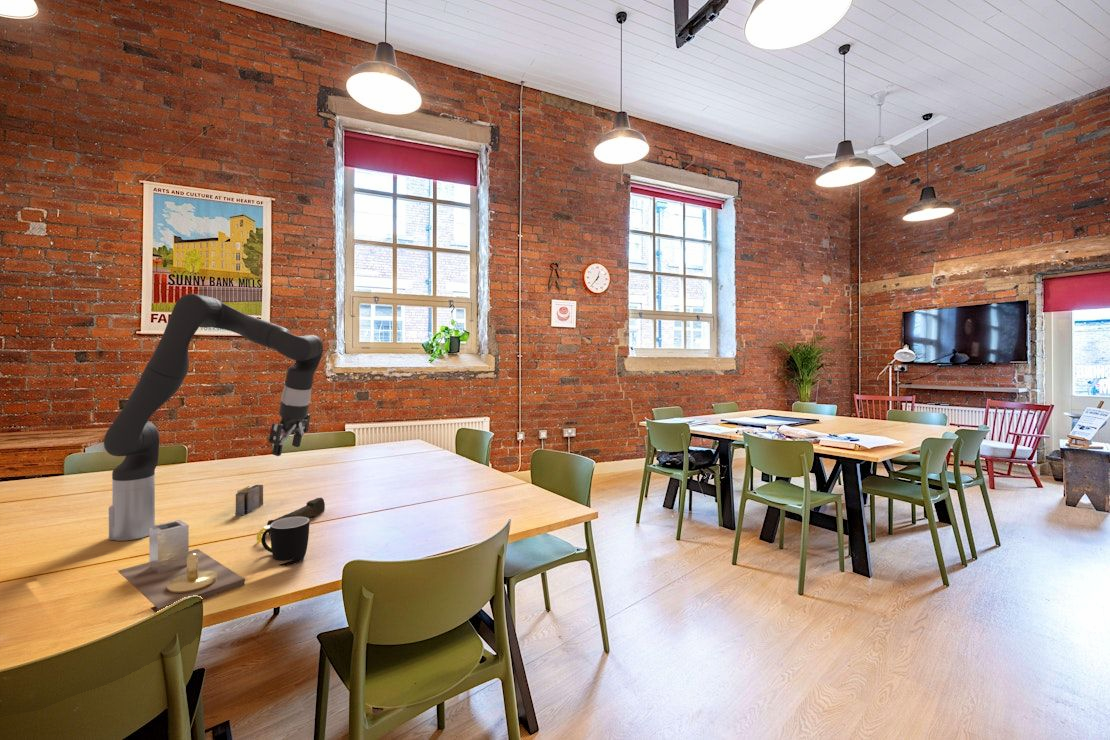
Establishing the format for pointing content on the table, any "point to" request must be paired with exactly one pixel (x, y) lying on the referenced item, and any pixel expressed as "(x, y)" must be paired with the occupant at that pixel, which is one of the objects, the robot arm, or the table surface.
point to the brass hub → (191, 578)
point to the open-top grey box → (168, 546)
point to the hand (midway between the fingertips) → (286, 450)
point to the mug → (288, 539)
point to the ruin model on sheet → (249, 499)
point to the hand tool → (306, 510)
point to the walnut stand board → (156, 584)
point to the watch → (261, 532)
